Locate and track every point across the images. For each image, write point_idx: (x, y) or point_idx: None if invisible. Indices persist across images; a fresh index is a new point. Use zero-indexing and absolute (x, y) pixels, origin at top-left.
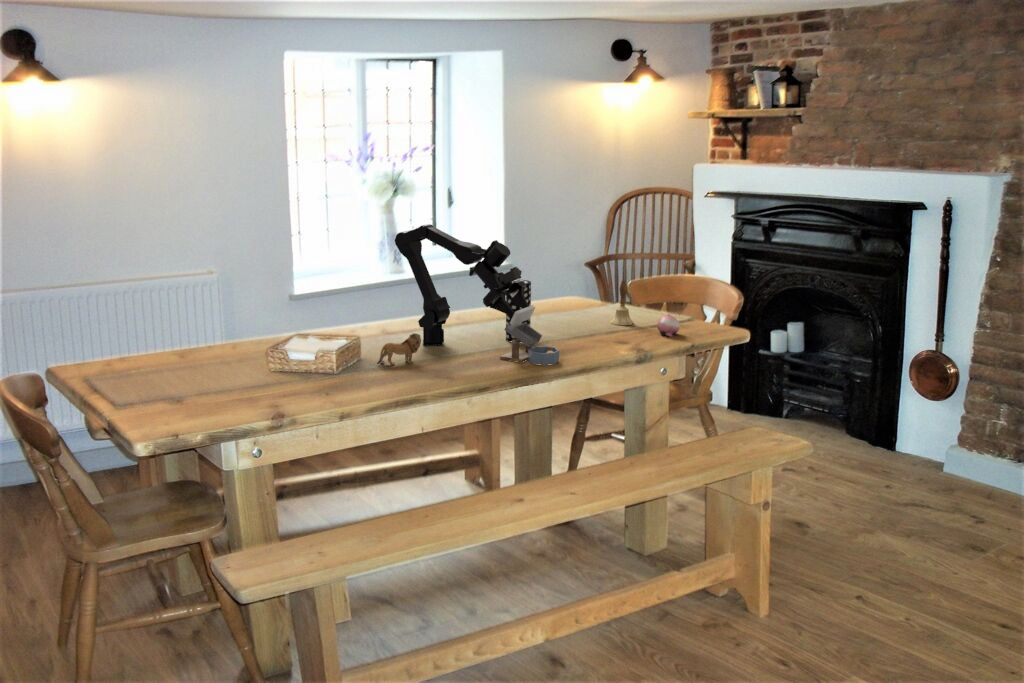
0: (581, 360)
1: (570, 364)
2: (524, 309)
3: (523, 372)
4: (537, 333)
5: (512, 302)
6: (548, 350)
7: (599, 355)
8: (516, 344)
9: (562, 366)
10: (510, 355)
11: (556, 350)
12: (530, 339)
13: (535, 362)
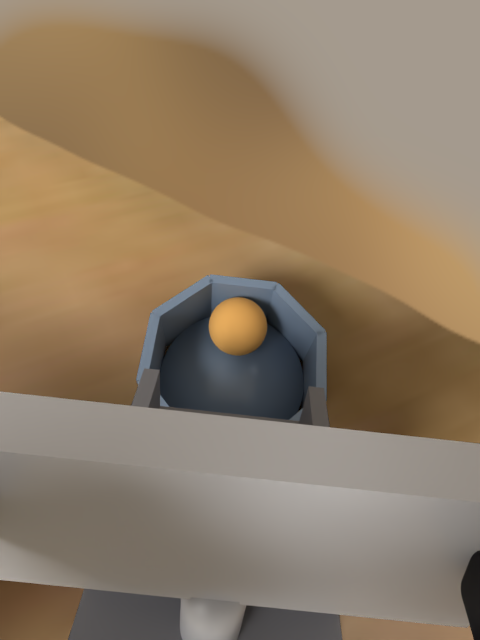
0: (132, 234)
1: (221, 253)
2: (264, 453)
3: (476, 394)
4: (151, 402)
5: None
6: (155, 363)
7: (13, 194)
8: None
9: (271, 272)
10: None
11: (195, 295)
12: (324, 396)
13: None
